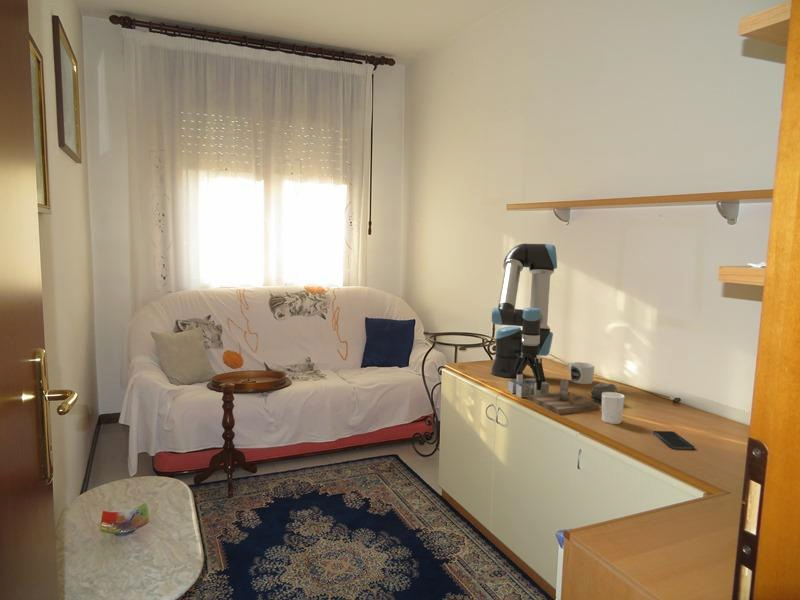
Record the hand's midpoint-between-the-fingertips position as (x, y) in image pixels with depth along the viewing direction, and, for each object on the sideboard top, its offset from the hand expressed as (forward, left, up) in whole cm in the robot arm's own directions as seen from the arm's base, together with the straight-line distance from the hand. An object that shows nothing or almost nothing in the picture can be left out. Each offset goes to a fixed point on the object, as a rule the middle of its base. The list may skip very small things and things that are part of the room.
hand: (527, 392), depth 240 cm
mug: (-10, +36, 0) cm, 37 cm away
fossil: (+21, +23, 0) cm, 31 cm away
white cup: (+41, +8, 0) cm, 42 cm away
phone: (+64, +13, -1) cm, 65 cm away
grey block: (0, 0, 0) cm, 0 cm away
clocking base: (+18, +4, 0) cm, 19 cm away
